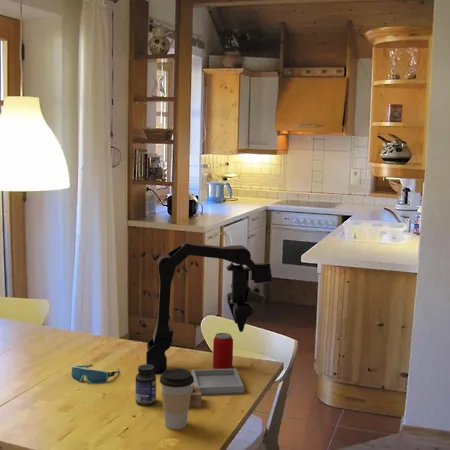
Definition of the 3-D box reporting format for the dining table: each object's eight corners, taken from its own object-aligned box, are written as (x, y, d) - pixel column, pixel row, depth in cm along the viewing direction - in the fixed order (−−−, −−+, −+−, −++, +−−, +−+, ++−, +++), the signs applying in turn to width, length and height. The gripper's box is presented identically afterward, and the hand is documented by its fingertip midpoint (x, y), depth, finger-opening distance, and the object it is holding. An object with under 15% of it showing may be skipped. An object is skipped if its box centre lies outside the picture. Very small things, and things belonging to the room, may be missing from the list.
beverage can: (233, 365, 226) (234, 332, 224) (231, 373, 219) (232, 339, 217) (213, 364, 226) (214, 331, 224) (211, 371, 220) (212, 337, 218)
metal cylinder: (186, 404, 193) (186, 388, 192) (185, 401, 195) (186, 386, 194) (193, 404, 193) (193, 388, 193) (192, 401, 195) (192, 385, 195)
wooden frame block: (179, 408, 191) (179, 395, 190) (177, 397, 198) (177, 385, 197) (201, 407, 191) (201, 394, 191) (198, 396, 199) (198, 384, 198)
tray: (195, 395, 200) (195, 387, 200) (191, 376, 215) (191, 369, 214) (243, 393, 202) (243, 386, 202) (235, 375, 217) (235, 368, 216)
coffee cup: (159, 417, 184) (160, 367, 182) (192, 417, 185) (193, 367, 183) (158, 433, 175) (159, 380, 172) (193, 432, 175) (194, 380, 173)
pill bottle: (156, 405, 192) (156, 370, 190) (135, 406, 191) (135, 371, 189) (155, 397, 198) (155, 362, 196) (135, 398, 197) (135, 363, 195)
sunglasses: (64, 380, 209) (65, 365, 209) (86, 370, 223) (87, 356, 223) (103, 387, 205) (104, 371, 205) (124, 376, 219) (124, 361, 219)
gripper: (269, 289, 211) (267, 335, 213) (258, 276, 229) (256, 319, 231) (235, 290, 209) (234, 336, 212) (227, 276, 228) (226, 319, 230)
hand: (238, 327), depth 221 cm, fingers open, 9 cm apart
